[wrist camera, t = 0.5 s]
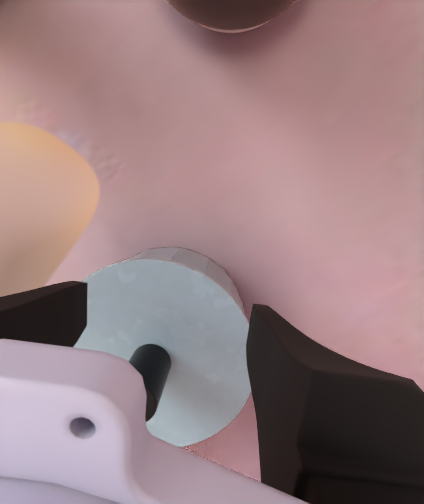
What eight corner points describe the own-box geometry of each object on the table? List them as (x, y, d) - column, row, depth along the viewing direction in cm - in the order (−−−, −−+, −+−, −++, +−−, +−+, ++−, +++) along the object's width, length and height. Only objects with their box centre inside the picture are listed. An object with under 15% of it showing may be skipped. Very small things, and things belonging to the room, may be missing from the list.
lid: (213, 460, 20) (208, 539, 15) (40, 396, 20) (-17, 459, 15) (287, 299, 17) (308, 338, 13) (89, 224, 17) (37, 236, 13)
